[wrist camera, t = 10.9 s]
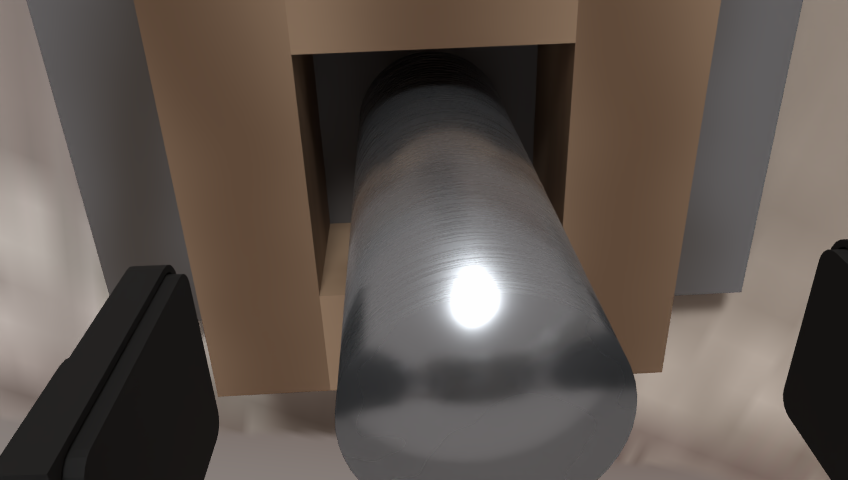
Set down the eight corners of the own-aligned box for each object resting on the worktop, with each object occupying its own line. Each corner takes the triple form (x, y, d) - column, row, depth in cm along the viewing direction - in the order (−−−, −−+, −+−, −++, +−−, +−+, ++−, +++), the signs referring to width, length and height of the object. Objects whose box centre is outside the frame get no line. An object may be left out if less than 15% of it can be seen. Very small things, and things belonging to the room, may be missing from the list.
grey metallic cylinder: (504, 48, 19) (654, 284, 9) (500, 185, 21) (620, 517, 11) (354, 54, 19) (321, 300, 9) (364, 191, 21) (347, 534, 10)
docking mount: (811, -142, 18) (946, -140, 14) (728, 276, 24) (804, 370, 20) (14, -113, 18) (-108, -103, 13) (127, 306, 24) (69, 410, 19)
